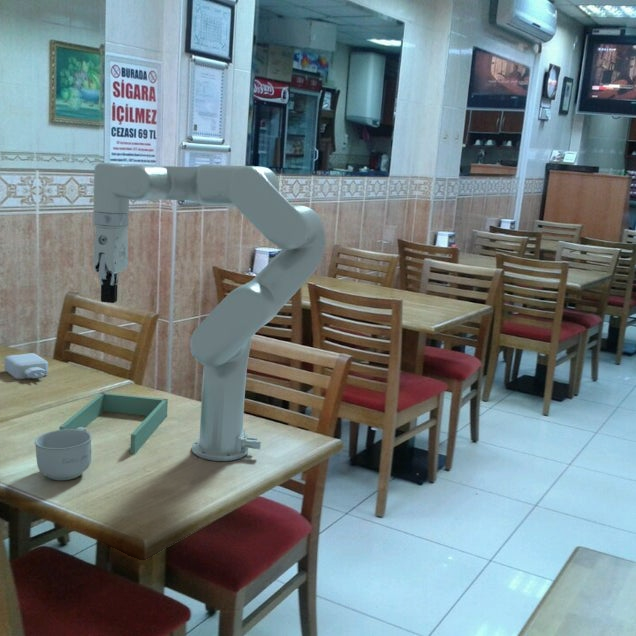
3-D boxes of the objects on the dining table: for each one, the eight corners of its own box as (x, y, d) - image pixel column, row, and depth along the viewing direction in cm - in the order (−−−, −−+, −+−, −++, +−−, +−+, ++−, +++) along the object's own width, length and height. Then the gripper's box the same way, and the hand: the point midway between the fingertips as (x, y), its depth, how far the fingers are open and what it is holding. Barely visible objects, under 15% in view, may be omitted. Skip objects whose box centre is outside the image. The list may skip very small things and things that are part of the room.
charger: (23, 386, 203) (4, 372, 214) (56, 381, 209) (36, 368, 220) (23, 369, 202) (4, 356, 213) (56, 365, 208) (36, 352, 219)
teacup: (66, 490, 144) (67, 451, 143) (22, 477, 148) (22, 439, 147) (111, 465, 157) (112, 429, 156) (69, 454, 161) (70, 419, 159)
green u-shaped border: (167, 416, 189) (167, 399, 188) (134, 454, 164) (135, 434, 163) (101, 409, 190) (101, 392, 189) (59, 446, 165) (59, 426, 164)
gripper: (116, 224, 158) (113, 309, 161) (138, 219, 172) (135, 297, 176) (81, 221, 158) (79, 306, 162) (106, 216, 173) (104, 294, 176)
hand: (108, 301), depth 169 cm, fingers closed
